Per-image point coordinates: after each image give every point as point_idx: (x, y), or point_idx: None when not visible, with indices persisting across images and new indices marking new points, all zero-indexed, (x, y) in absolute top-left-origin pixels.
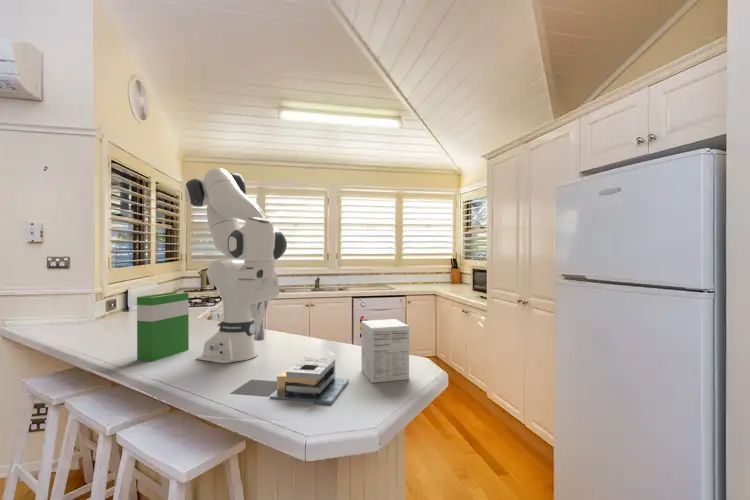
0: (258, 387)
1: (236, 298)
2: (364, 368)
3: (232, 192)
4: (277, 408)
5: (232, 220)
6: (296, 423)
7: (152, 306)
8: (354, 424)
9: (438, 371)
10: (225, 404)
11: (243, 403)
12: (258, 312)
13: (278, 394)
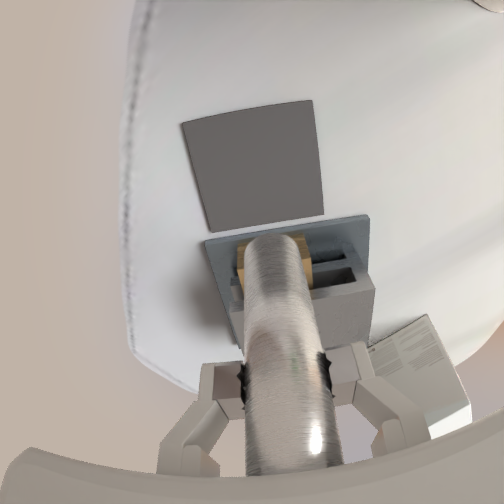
0: (257, 167)
1: (7, 485)
2: (406, 338)
3: None
4: (177, 279)
5: None
6: (150, 329)
7: None
8: (194, 380)
9: None
10: (131, 163)
11: (157, 198)
12: (234, 416)
13: (223, 256)
